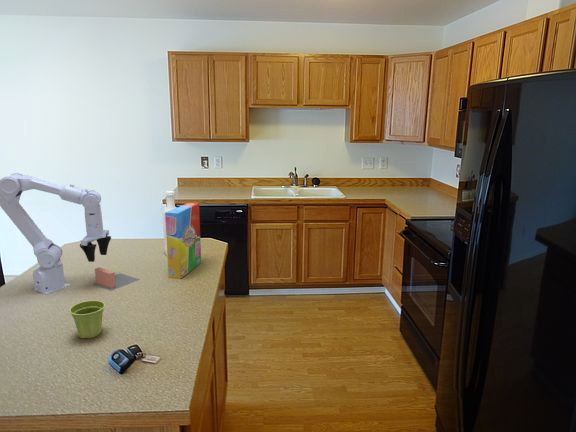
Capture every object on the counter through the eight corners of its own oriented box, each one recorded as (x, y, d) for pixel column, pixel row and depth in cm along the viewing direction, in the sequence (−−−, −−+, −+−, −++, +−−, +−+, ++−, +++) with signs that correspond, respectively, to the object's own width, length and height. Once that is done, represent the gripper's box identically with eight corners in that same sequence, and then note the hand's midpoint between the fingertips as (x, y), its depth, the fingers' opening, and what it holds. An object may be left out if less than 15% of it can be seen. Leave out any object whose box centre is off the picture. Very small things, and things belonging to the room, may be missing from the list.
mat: (110, 291, 148) (110, 290, 148) (91, 284, 154) (91, 283, 154) (139, 280, 159) (139, 279, 159) (120, 273, 165) (120, 273, 165)
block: (111, 288, 150) (109, 273, 149) (96, 283, 155) (94, 269, 153) (115, 287, 152) (114, 272, 150) (101, 281, 156) (99, 267, 155)
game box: (180, 279, 160) (177, 213, 154) (168, 278, 161) (163, 212, 155) (201, 262, 180) (199, 202, 174) (190, 261, 181) (187, 202, 175)
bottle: (164, 251, 193) (160, 190, 186) (181, 250, 196) (178, 189, 188) (165, 257, 186) (161, 193, 179) (182, 255, 188) (179, 192, 181)
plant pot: (98, 322, 126) (95, 297, 124) (113, 332, 120) (110, 306, 118) (67, 334, 119) (63, 307, 117) (81, 345, 113) (78, 317, 111)
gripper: (91, 229, 143) (95, 265, 146) (115, 219, 157) (117, 252, 160) (73, 228, 144) (77, 263, 147) (98, 218, 158) (101, 251, 161)
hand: (97, 258), depth 153 cm, fingers open, 7 cm apart
